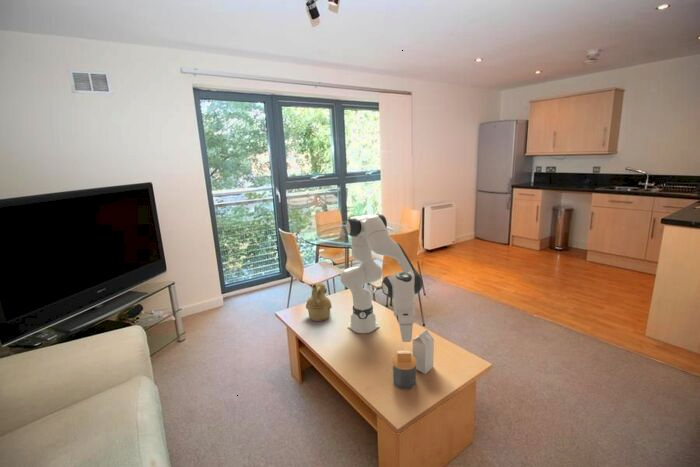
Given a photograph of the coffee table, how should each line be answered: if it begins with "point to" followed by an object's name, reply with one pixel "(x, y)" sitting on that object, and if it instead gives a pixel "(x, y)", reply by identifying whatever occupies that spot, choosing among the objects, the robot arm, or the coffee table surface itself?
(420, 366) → the milk carton
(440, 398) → the coffee table surface
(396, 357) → the orange cap
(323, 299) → the ceramic vessel
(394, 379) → the graphite tube
